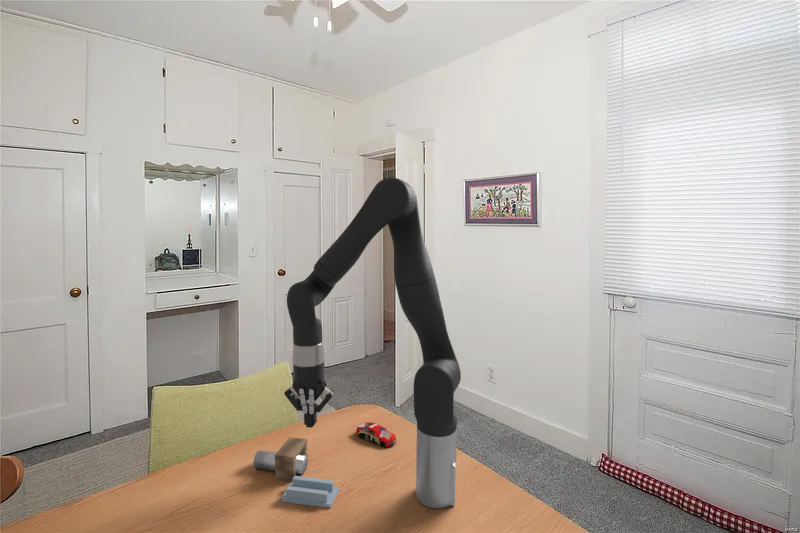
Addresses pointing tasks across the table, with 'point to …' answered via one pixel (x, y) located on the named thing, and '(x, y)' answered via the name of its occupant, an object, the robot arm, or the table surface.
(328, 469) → the table surface
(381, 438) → the race car
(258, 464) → the axle
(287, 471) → the brown bridge block
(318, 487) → the cradle
